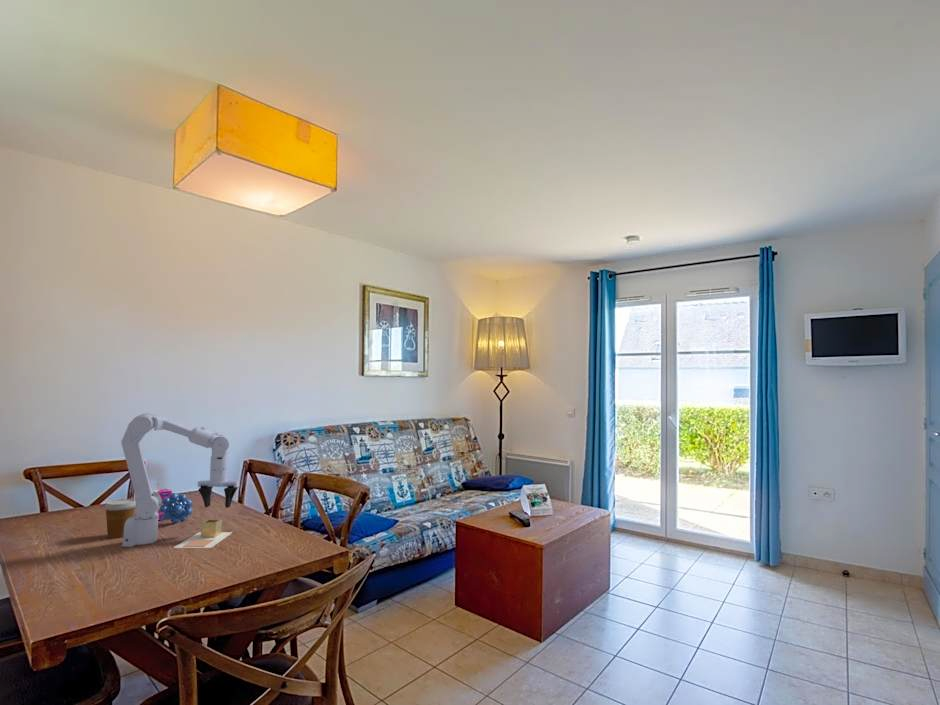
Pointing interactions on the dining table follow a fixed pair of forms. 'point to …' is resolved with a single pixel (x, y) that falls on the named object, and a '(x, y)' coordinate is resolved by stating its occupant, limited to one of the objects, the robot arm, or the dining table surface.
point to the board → (202, 541)
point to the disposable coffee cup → (118, 516)
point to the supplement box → (161, 499)
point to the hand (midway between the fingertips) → (217, 506)
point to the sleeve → (211, 528)
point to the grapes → (176, 507)
